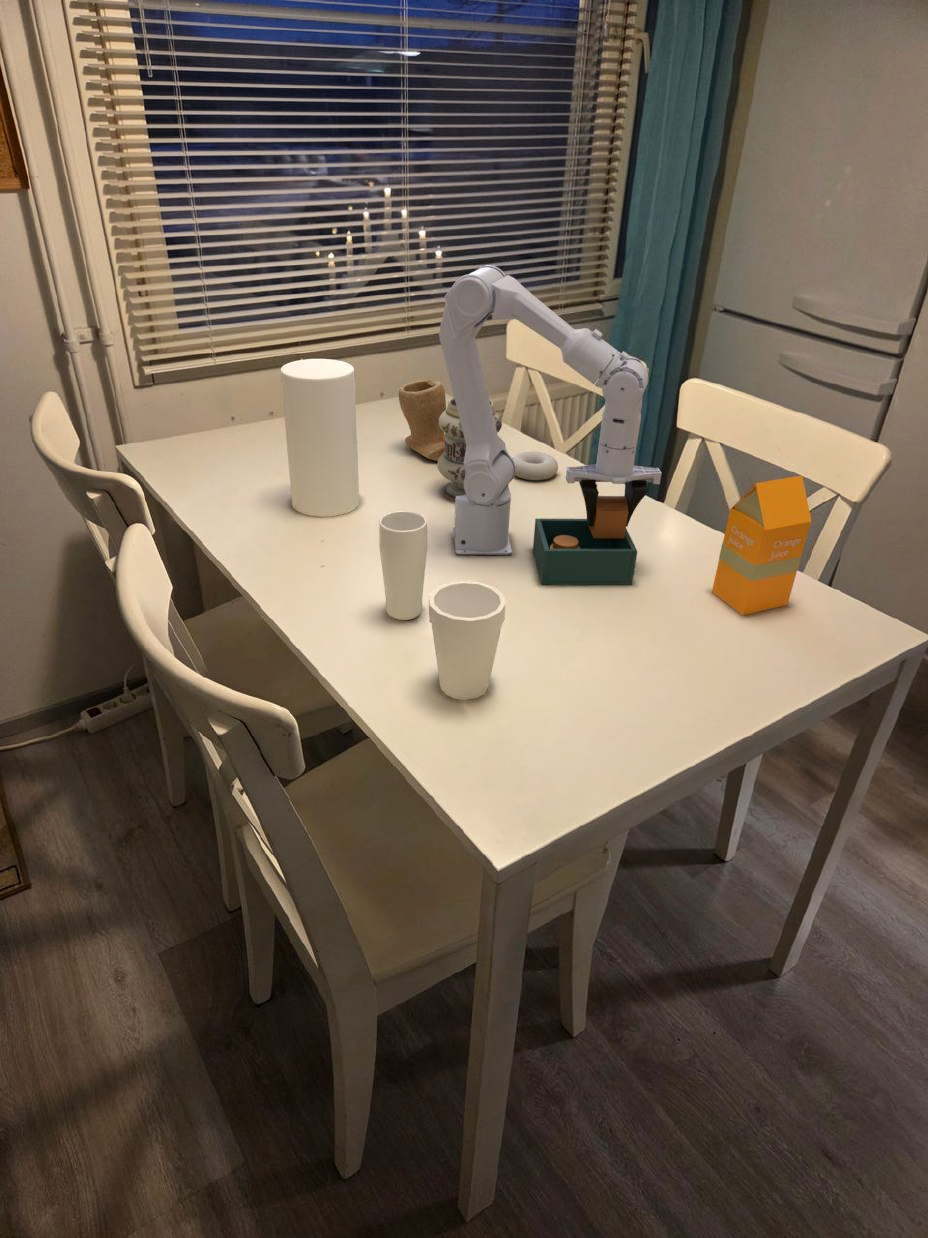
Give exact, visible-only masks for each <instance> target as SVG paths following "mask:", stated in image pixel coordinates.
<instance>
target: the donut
mask: <svg viewBox="0 0 928 1238" xmlns="http://www.w3.org/2000/svg"><path fill="white" fill-rule="evenodd" d="M512 458H513V460H514V462H515V466H516V473H515V477H517V478H521V479H523V480H527V481H544V480H548V479H550V478H553V477H554V476H555V475H556V474H557V472H558V471H559V464H558V461H557V459H555V457H553V456H552V455H550V454H548V453H544V452H541V451H523V452H519V453H517V454H515V455H513V456H512Z"/></svg>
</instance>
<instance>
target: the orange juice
mask: <svg viewBox="0 0 928 1238" xmlns="http://www.w3.org/2000/svg"><path fill="white" fill-rule="evenodd" d="M808 501H809V500H808V498H807V492H806V488H805V482H804V477H803V475H796V476H791V477H790V476H789V477H785V478H779V479H772V480H766V481H759V482H755V484H754V485H753V486H752V487H751V488H750V489H749V490H748V491H747V492H746V493H745V494H744V495H743V496H742V497H741V498H740V499H739V500H738V501H737V502H736V503H735V504H734V505H733V506H732V507H730V509H729V513H728V518H727V522H726V526H725V532H724V535H723V539H722V544H721V548H720V552H719V557H718V561H717V562H718V563H717V567H716V571H715V575H714V579H713V584H712V589H711V593H713V595H715V596H716V597H718V598H719V599H720V600H722V601H723V602H725V604H727V605H728V606H729V607H731V608H732V609H733V610H735V611H736V612H737V613H738V614H740V615H742V616H746V615H750V614H755V613H760V612H765V611H768V610H772V609H776V608H781V607H784V606H785V607H786V606H788V605H789V601H790V597H791V594H792V590H793V587H794V583H795V580H796V577H797V572H798V570H799V567H800V564H801V560H802V555H803V551H804V548H805V545H806V540H807V538H808V534H809V530H810V527H811V523H812V516H811V512H810V511H811V510H810V507H809V502H808Z"/></svg>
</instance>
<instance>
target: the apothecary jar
mask: <svg viewBox="0 0 928 1238" xmlns="http://www.w3.org/2000/svg"><path fill="white" fill-rule="evenodd" d="M489 400H490V405H491V409H492V413H493V418H494V422H495V426H496V430H497V434H498V433H499V432H500V431H501V429H502V427H503V420H502V417H501V416H500V414H499V413H497V411H496V408H495V404H494V401H493V400H492V399H490V398H489ZM439 426H440V428H441V430H442V431H443V432H444V434H445V448H444V453H443V454H442V455H441V456H440V458H439V460H438V461H437V463H436V465H437V466H436V467H437V470H438V472H439V473H440V475H441V476H442V477H444V478H445V479H447V480H448V481H450V483H447V485H445V486H444V487H443V488H442V489H443V490H442V494H443V496H444V497H445V498H447V499H449V500H450V501H453V502H455V498H456V496H462V495H466V492H465V490H464V479H465V467H464V458H465V452H466V442H465V438H464V434H463V430H462V426H461V422H460V418H459V414H458V410H457V406H456V402H455V398H454V396H453V397H451V398H449V400H448V401H447V406H446V410H445V411H444V412H443V413H442V414H441V416H440V418H439Z"/></svg>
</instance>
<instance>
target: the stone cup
mask: <svg viewBox="0 0 928 1238" xmlns="http://www.w3.org/2000/svg"><path fill="white" fill-rule="evenodd" d="M446 399H447V398H446V390H445V388H444V385H443V384H442V382H440V381H434V380H432V379H420V380H415V381H412V382H408V383H404V384H403V385H402V386H400V388H399V389H398V402H399V406H400V408H401V411H402V413H403V417H404V419H405V420H406V422H407V425H408V427H409V431H410V435H408V436H406V437H405V438H404V442H405V444H406V446H408V447H409V448H410V449H412V450H413V451H415V452H416V453H418V454H419V455H420V456H423V457H424V458H426V459H429V460H432V461H436V462H438V460H439V458H440V456H441V455H442V454H443V453H444V448H445V433H444V432H443V431H442V430H441V428H440V426H439V418H440V416H441V414H442V413H443V412H444V411H445V410H447V400H446Z"/></svg>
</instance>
